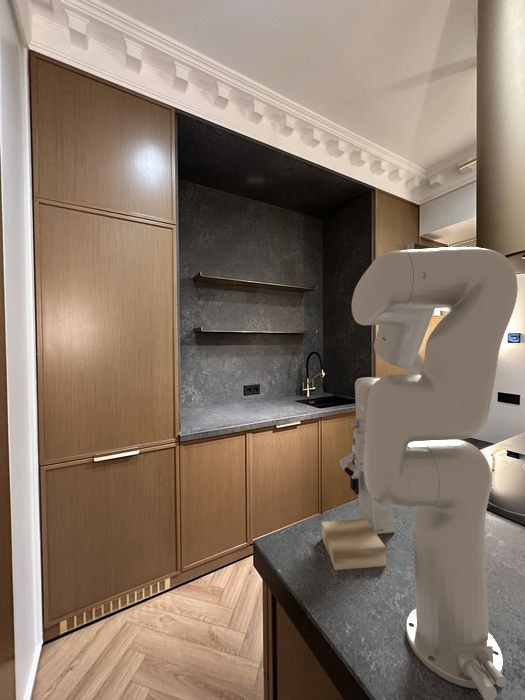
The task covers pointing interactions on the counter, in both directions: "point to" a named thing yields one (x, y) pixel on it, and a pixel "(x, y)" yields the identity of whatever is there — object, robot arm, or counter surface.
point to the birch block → (353, 544)
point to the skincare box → (374, 510)
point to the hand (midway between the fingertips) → (373, 490)
